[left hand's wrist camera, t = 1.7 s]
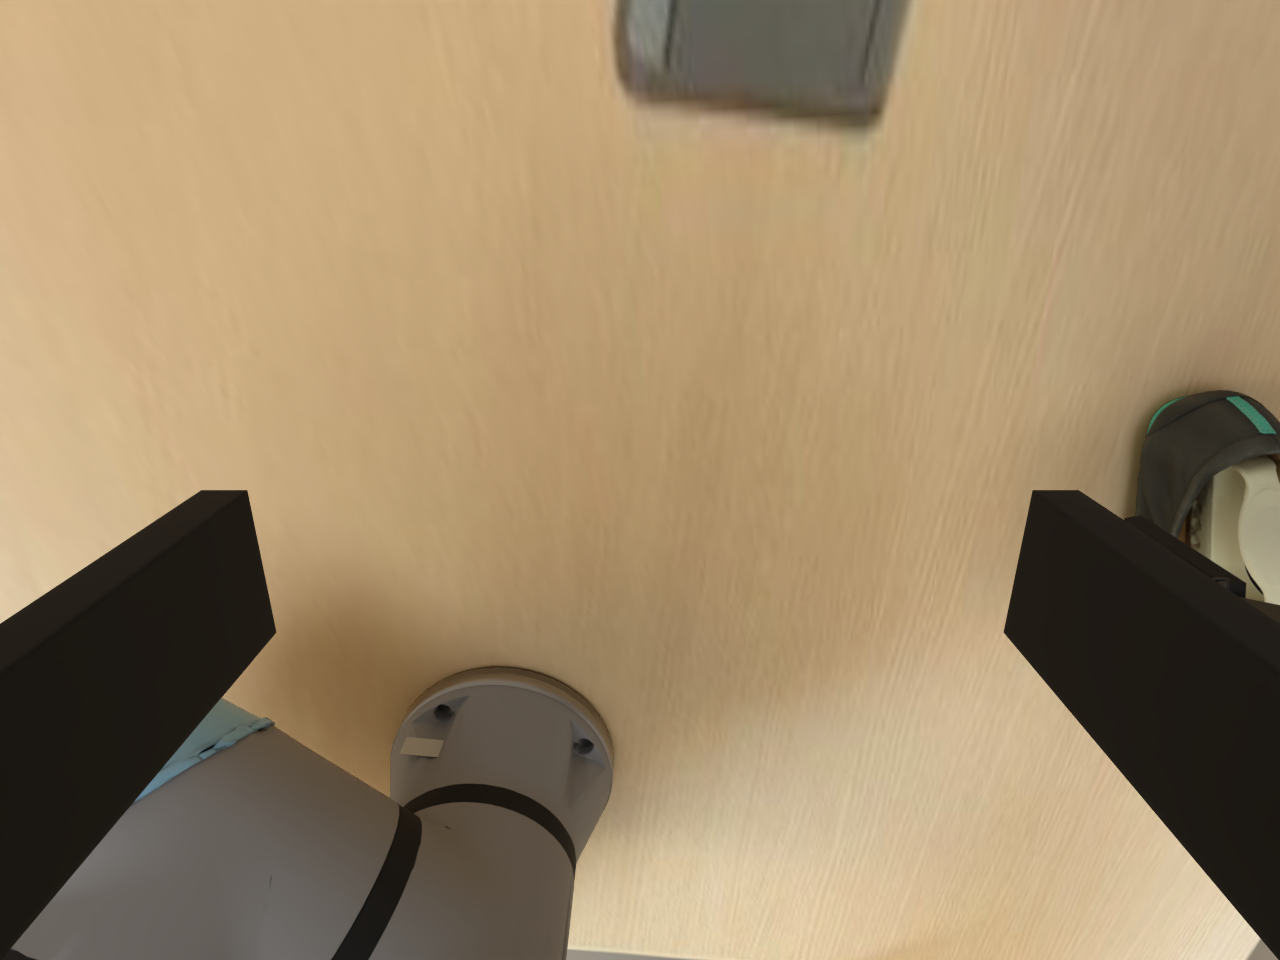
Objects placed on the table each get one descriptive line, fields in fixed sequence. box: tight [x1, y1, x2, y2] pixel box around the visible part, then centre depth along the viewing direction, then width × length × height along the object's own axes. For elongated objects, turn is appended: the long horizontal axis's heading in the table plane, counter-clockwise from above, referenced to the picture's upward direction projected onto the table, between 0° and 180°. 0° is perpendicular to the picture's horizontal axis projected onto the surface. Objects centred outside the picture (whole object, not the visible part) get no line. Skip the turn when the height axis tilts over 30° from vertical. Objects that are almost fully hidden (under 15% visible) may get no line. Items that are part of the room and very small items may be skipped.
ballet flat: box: [1135, 390, 1280, 605], centre depth 42 cm, size 8×24×8 cm, turn 14°
